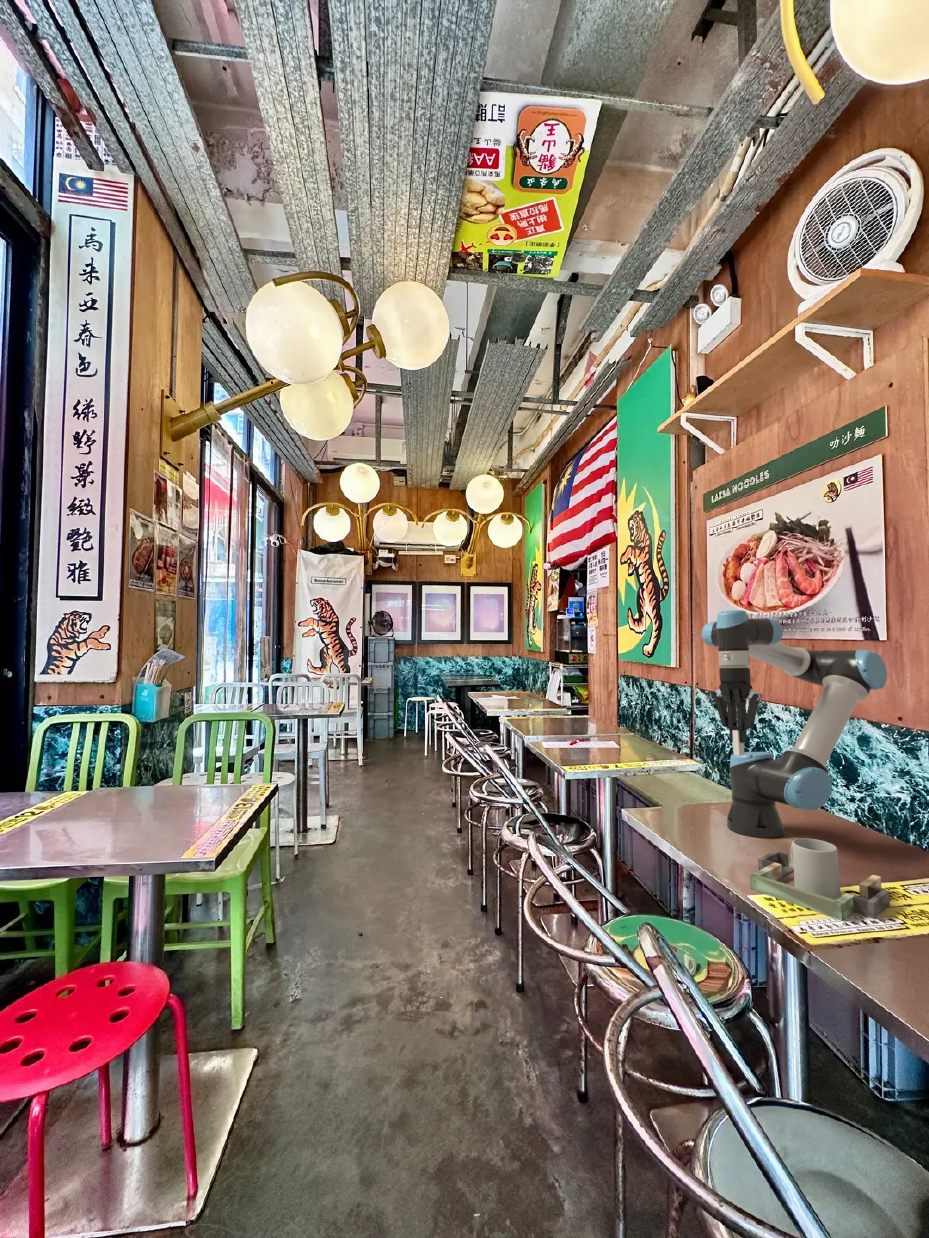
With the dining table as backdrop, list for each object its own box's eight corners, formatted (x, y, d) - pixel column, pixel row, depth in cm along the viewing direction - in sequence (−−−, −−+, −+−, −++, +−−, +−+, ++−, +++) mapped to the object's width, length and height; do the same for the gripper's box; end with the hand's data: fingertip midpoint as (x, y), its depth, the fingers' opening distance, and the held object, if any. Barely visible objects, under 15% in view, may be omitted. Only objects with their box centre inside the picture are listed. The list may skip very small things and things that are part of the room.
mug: (851, 903, 111) (847, 850, 112) (812, 905, 111) (809, 852, 112) (811, 879, 123) (808, 832, 124) (776, 881, 123) (773, 833, 123)
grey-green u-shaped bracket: (779, 860, 134) (779, 848, 135) (901, 896, 114) (900, 882, 114) (735, 883, 122) (734, 870, 122) (862, 927, 101) (861, 911, 102)
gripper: (704, 667, 146) (708, 752, 144) (751, 667, 135) (756, 759, 133) (718, 666, 150) (722, 749, 148) (765, 666, 139) (771, 756, 137)
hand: (739, 754), depth 141 cm, fingers closed
